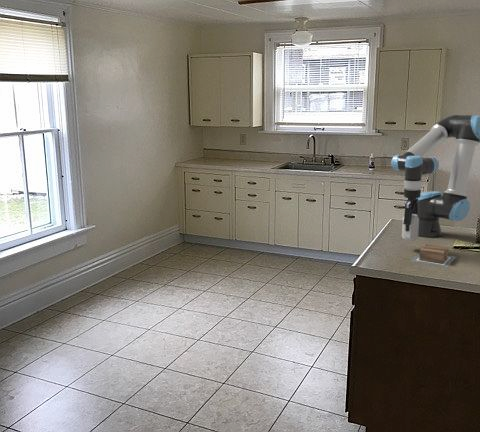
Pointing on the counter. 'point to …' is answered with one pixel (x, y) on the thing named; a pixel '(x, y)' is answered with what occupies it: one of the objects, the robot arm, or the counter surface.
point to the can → (412, 228)
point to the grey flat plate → (445, 263)
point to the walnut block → (433, 254)
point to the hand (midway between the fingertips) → (410, 235)
